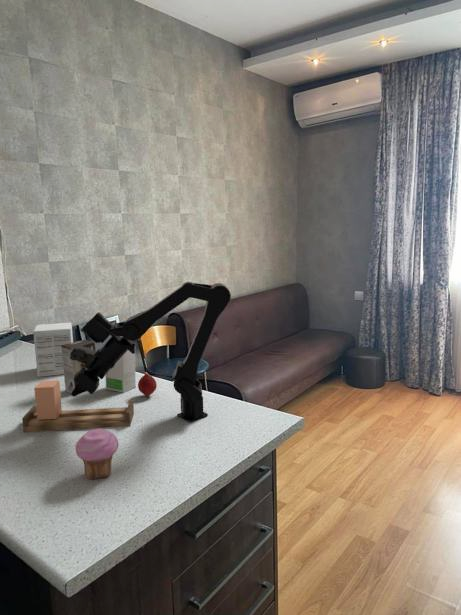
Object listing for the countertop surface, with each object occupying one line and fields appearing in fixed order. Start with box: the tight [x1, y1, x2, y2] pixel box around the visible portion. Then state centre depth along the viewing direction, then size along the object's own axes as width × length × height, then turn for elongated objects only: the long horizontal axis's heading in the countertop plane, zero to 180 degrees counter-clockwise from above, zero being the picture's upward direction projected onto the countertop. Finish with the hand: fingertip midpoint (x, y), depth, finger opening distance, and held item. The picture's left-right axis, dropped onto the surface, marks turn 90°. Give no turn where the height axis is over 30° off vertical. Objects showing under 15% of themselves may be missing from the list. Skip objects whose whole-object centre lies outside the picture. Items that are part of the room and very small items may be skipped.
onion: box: [137, 372, 158, 397], centre depth 145 cm, size 6×6×8 cm
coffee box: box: [61, 339, 96, 394], centre depth 152 cm, size 9×6×16 cm
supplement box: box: [32, 322, 74, 378], centre depth 174 cm, size 13×13×18 cm
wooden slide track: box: [21, 400, 135, 433], centre depth 126 cm, size 28×9×4 cm, turn 95°
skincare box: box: [104, 350, 137, 394], centre depth 152 cm, size 8×7×16 cm
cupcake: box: [75, 428, 119, 480], centre depth 98 cm, size 9×9×10 cm
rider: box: [33, 379, 63, 420], centre depth 124 cm, size 5×6×10 cm
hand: (72, 395), depth 124 cm, fingers closed
